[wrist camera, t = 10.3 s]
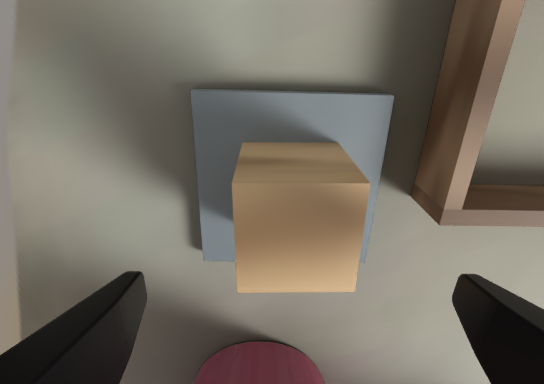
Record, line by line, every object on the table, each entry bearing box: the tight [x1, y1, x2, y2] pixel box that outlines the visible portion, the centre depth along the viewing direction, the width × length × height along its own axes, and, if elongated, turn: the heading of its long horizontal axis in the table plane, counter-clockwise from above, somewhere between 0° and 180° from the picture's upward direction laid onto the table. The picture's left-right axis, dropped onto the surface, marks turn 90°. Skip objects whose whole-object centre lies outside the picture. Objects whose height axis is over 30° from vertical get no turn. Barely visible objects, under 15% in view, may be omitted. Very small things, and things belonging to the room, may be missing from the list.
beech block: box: [232, 142, 370, 293], centre depth 13 cm, size 4×4×5 cm
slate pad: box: [190, 89, 394, 262], centre depth 16 cm, size 9×9×1 cm
